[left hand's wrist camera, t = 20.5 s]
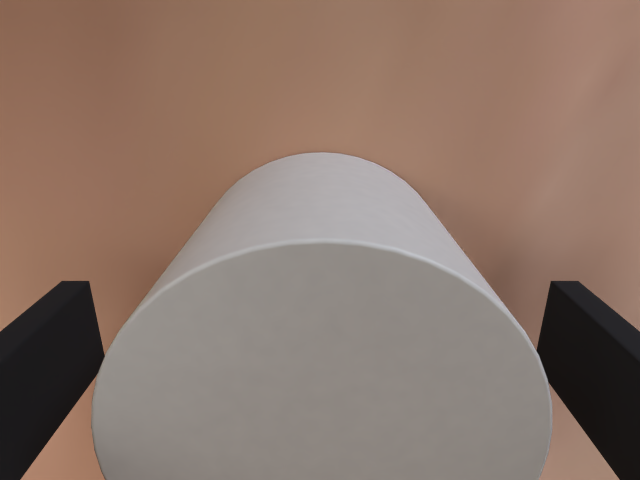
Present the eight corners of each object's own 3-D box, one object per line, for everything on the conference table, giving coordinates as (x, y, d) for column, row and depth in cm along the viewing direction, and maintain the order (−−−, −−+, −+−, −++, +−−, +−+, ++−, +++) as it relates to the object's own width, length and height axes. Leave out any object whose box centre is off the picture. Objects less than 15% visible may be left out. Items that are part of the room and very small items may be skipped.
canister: (376, 99, 13) (438, 135, 6) (484, 318, 16) (613, 514, 9) (145, 232, 15) (-14, 381, 8) (279, 411, 18) (251, 640, 11)
